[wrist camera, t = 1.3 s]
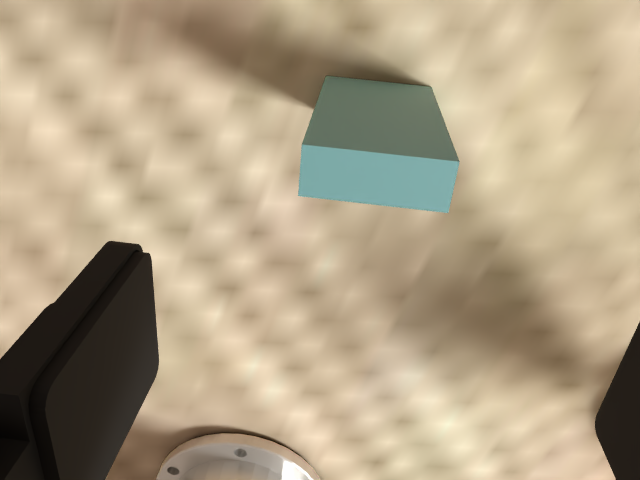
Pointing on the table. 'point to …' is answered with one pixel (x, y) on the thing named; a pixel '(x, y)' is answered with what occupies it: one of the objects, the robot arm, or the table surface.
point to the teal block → (378, 146)
